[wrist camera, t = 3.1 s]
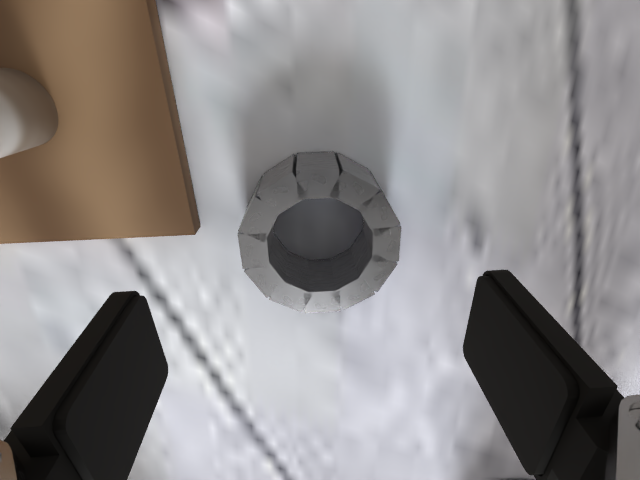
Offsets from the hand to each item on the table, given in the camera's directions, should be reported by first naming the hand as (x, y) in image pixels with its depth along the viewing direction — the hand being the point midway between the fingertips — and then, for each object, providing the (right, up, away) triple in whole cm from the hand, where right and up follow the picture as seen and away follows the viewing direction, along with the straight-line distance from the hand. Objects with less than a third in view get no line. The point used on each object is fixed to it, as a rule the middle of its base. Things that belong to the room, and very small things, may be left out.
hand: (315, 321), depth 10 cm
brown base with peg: (-12, +8, +5) cm, 16 cm away
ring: (0, +3, +8) cm, 9 cm away
